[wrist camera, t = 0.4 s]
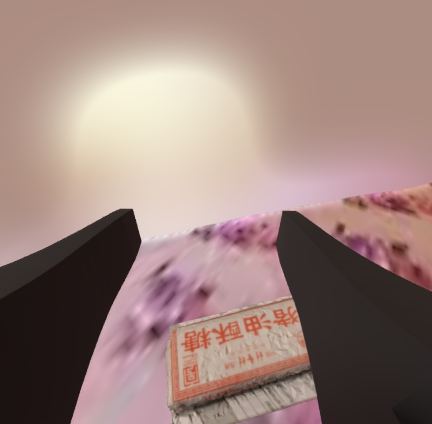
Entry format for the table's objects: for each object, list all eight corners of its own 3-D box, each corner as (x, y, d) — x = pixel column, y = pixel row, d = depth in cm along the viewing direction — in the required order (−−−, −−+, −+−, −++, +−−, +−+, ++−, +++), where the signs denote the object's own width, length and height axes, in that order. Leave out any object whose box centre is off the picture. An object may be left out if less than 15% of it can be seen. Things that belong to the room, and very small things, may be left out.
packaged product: (161, 445, 15) (161, 313, 23) (174, 444, 18) (171, 329, 26) (370, 379, 17) (306, 277, 24) (349, 388, 20) (298, 296, 28)
